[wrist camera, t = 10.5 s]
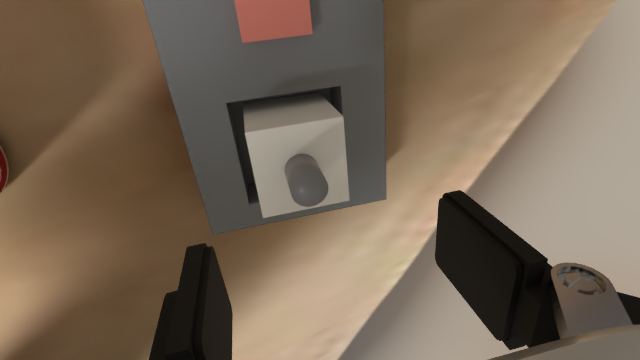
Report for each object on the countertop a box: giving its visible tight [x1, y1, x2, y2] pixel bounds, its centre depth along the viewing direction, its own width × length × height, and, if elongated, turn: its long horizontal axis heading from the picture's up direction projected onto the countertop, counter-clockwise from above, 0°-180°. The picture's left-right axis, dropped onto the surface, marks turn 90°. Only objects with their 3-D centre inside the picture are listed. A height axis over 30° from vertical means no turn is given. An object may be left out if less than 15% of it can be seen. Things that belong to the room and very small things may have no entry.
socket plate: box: [143, 0, 386, 235], centre depth 21 cm, size 16×12×4 cm
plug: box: [243, 92, 350, 218], centre depth 20 cm, size 5×5×8 cm
